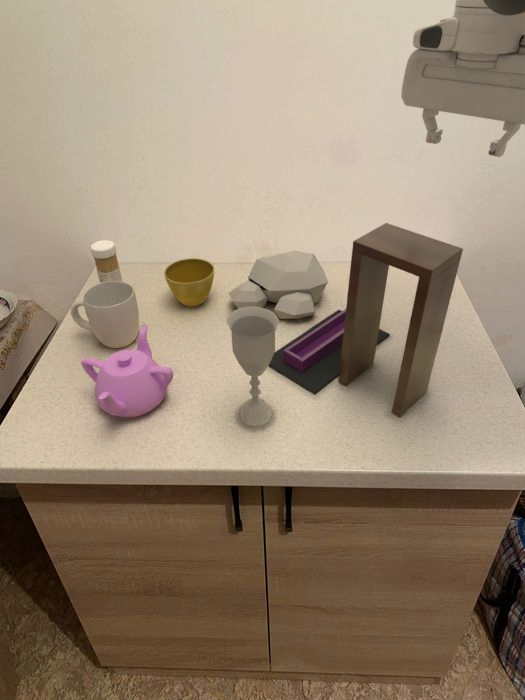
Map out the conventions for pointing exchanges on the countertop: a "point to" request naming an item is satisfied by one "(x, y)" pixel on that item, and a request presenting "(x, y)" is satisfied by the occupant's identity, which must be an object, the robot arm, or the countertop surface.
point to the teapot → (129, 380)
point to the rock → (283, 284)
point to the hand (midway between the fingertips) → (463, 148)
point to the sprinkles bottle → (106, 261)
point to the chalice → (253, 355)
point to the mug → (110, 313)
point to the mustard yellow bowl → (190, 280)
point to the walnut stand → (427, 314)
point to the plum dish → (316, 344)
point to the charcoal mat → (319, 371)
